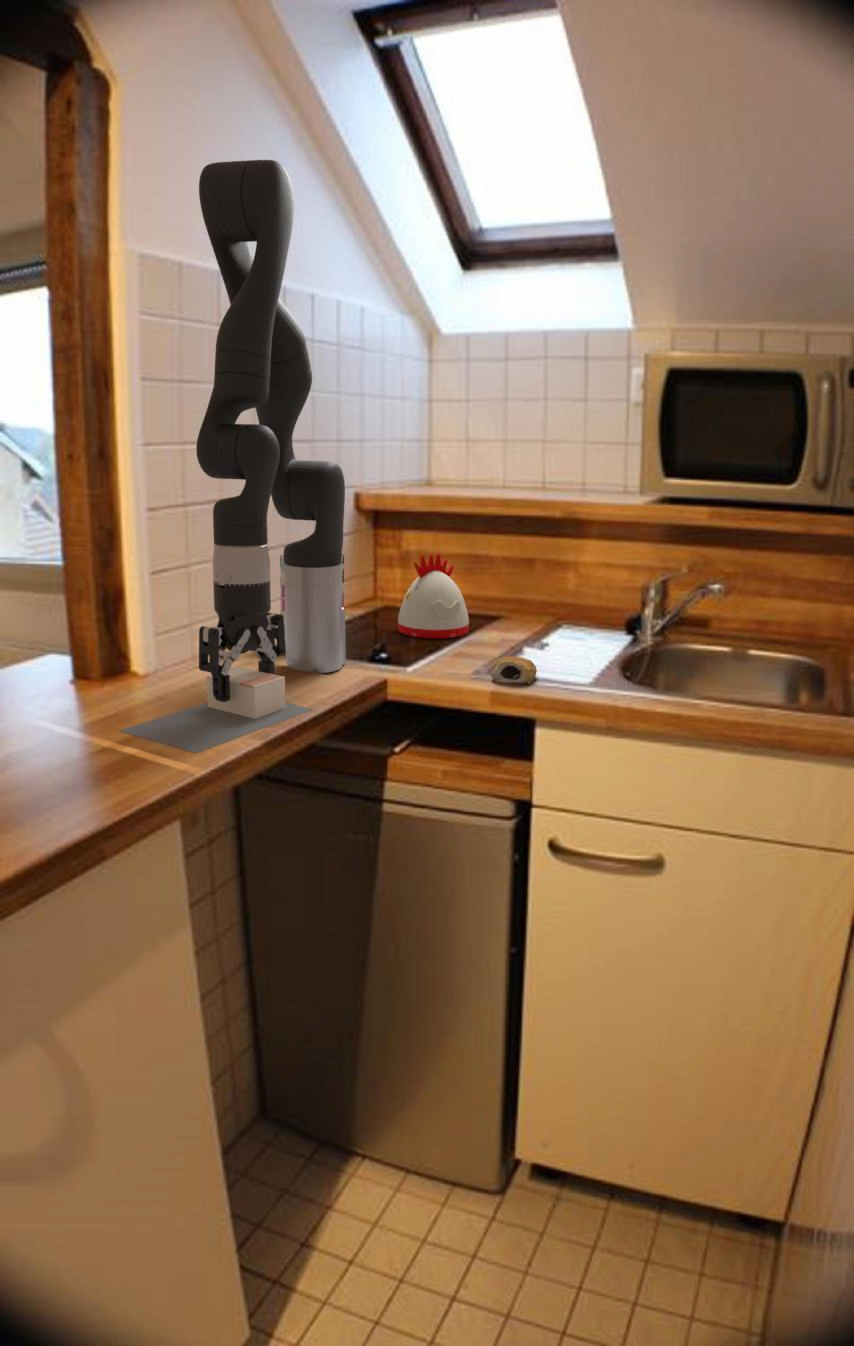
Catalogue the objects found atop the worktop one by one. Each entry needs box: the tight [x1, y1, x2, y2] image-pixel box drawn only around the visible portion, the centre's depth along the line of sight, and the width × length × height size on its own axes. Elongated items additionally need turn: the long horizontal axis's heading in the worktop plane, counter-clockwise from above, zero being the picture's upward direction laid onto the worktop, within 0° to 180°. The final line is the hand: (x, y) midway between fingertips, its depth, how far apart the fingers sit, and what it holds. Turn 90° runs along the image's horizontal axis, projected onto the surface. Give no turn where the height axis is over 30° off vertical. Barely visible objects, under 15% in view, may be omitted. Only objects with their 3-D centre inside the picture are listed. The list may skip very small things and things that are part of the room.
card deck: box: [206, 666, 286, 719], centre depth 129 cm, size 6×9×4 cm, turn 57°
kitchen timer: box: [397, 553, 470, 639], centre depth 181 cm, size 14×14×15 cm
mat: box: [118, 701, 315, 754], centre depth 125 cm, size 22×14×1 cm, turn 147°
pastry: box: [490, 655, 538, 685], centre depth 150 cm, size 9×7×4 cm
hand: (244, 693), depth 129 cm, fingers open, 8 cm apart
